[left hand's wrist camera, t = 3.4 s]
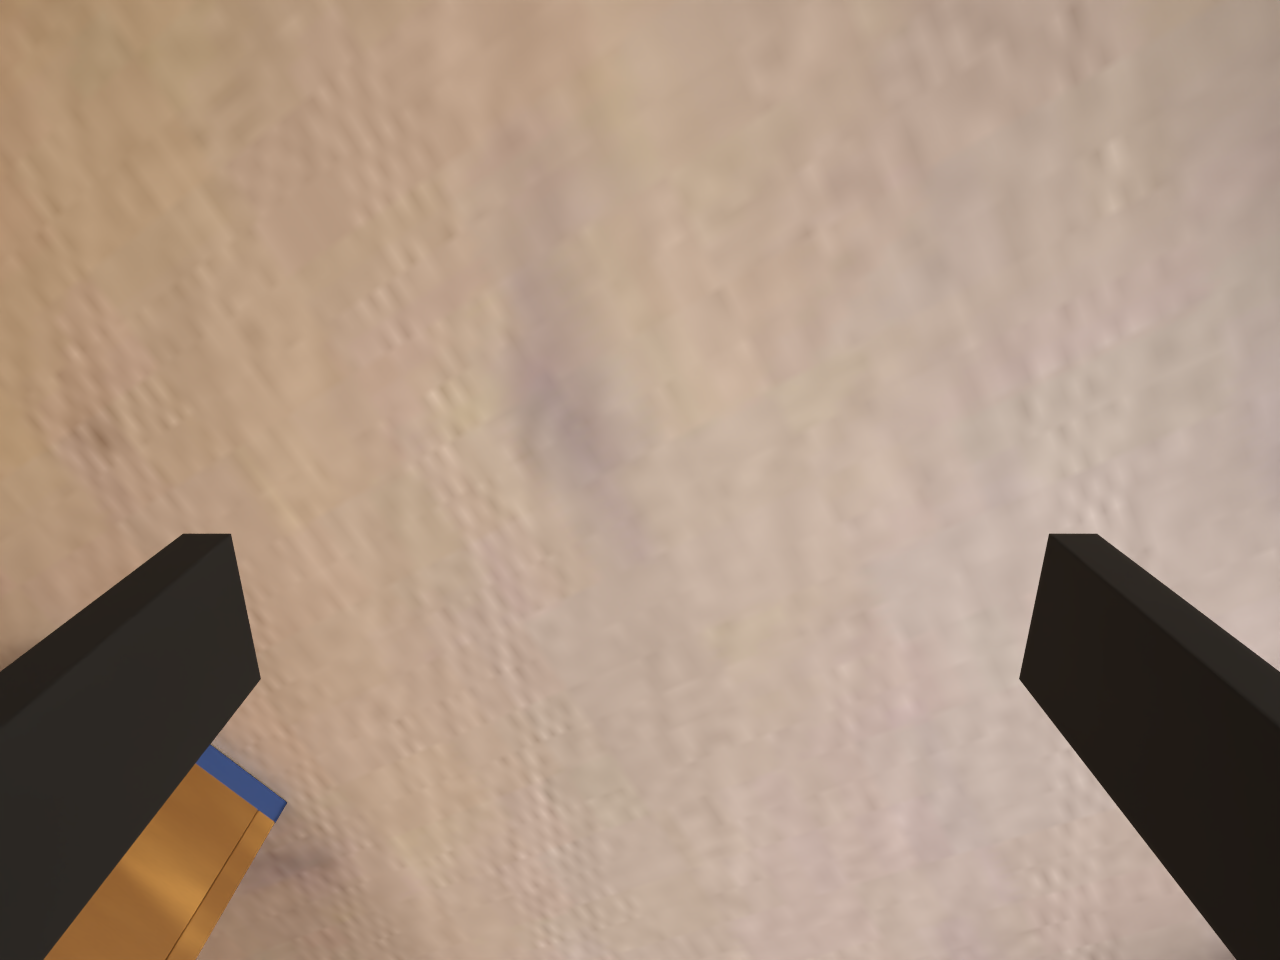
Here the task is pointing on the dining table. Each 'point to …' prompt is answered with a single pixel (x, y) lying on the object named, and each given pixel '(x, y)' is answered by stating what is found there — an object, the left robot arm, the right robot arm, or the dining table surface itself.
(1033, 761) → the dining table surface
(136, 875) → the chest
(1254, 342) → the dining table surface
